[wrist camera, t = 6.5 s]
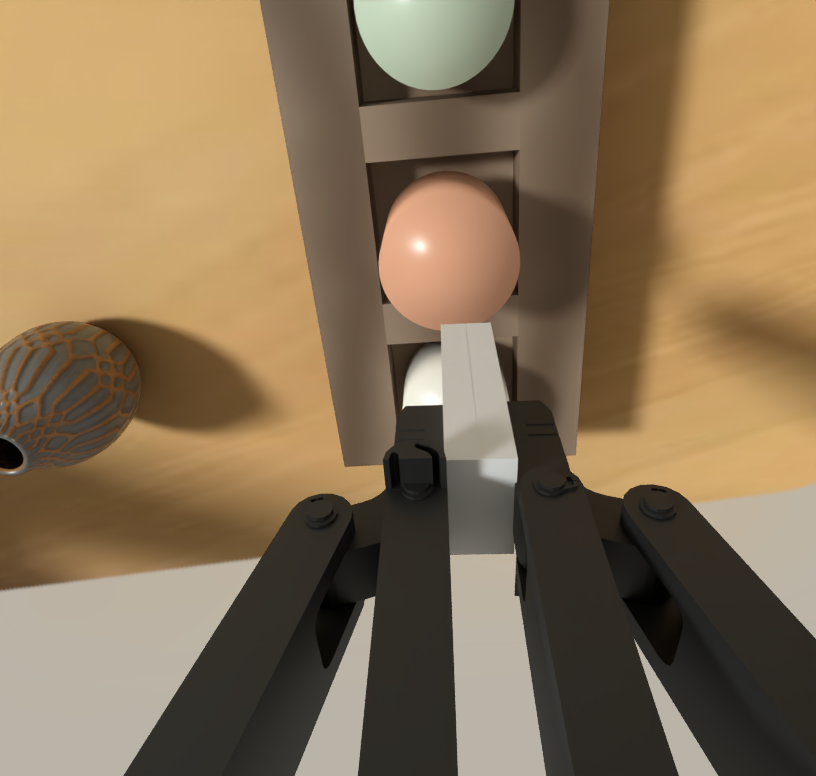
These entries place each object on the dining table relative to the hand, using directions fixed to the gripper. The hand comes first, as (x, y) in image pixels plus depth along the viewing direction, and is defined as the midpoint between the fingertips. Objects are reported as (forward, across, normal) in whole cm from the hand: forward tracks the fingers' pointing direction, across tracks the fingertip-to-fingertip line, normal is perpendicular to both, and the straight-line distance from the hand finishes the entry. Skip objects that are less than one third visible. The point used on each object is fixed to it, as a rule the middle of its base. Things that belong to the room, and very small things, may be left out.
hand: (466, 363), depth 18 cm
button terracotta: (+8, 0, +2) cm, 8 cm away
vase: (+13, -20, -6) cm, 25 cm away
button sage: (+10, -1, +10) cm, 14 cm away
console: (+13, 0, +2) cm, 13 cm away
